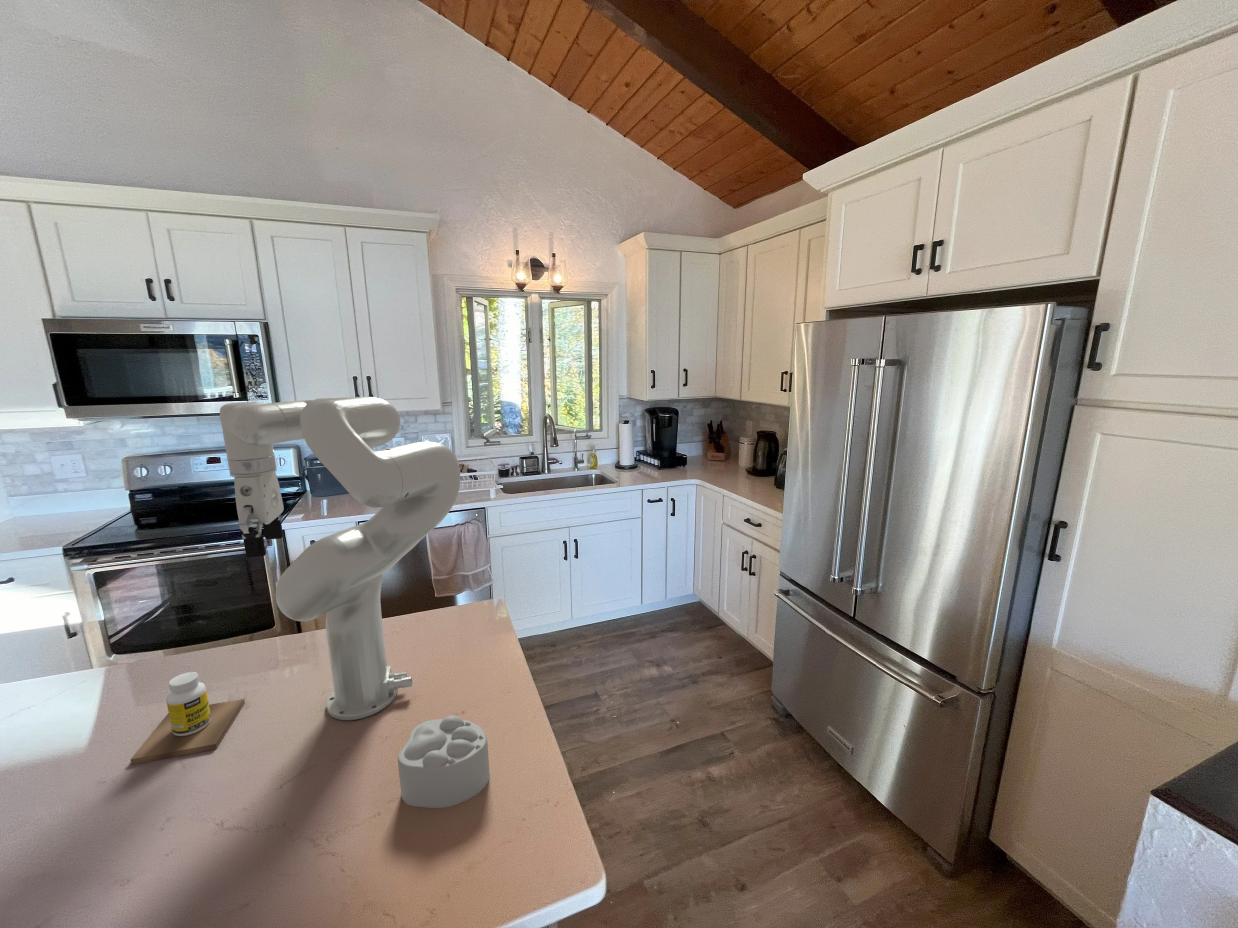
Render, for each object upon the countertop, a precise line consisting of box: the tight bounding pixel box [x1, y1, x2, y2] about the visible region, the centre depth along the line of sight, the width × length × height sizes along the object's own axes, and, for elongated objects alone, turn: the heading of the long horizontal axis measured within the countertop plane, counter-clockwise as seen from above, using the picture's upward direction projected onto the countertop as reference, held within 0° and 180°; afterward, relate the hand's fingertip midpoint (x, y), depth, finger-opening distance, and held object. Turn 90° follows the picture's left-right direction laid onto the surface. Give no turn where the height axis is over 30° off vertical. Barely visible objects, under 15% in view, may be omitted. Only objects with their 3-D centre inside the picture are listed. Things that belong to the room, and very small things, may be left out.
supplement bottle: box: [165, 671, 211, 736], centre depth 90 cm, size 5×5×10 cm
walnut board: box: [129, 698, 246, 765], centre depth 91 cm, size 12×12×1 cm
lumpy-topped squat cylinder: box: [397, 714, 491, 809], centre depth 80 cm, size 10×13×9 cm
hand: (265, 547), depth 103 cm, fingers open, 9 cm apart
